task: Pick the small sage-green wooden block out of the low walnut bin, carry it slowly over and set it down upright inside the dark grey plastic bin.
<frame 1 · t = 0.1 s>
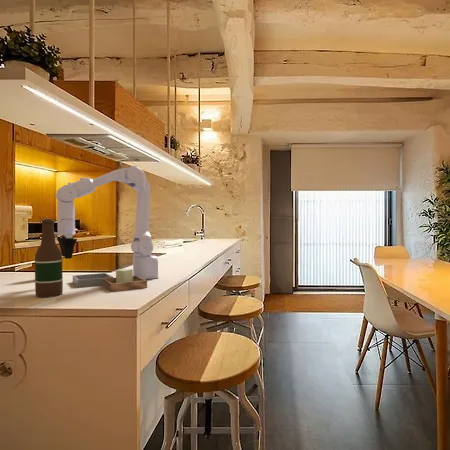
hand: (66, 257, 132), 10 cm above the table, tool pointing down, fingers open, 7 cm apart
beer bottle: (49, 295, 116), on the table
walnut bin: (124, 286, 129), on the table
sage block: (124, 278, 129), in the walnut bin
grey bin: (92, 283, 137), on the table
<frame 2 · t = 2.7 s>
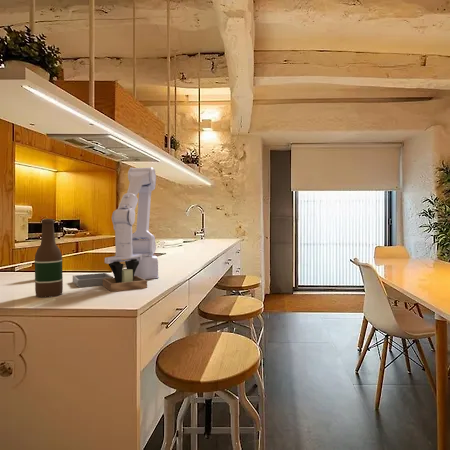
hand: (124, 282, 129), 2 cm above the table, tool pointing down, fingers closed on sage block, 4 cm apart
sage block: (124, 278, 129), in the walnut bin, touching gripper
everything else where it was.
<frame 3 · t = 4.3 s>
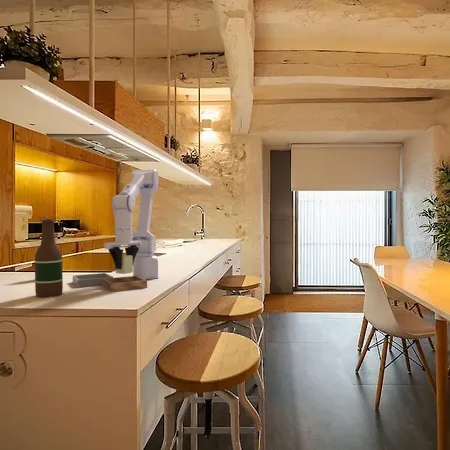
hand: (124, 268, 129), 7 cm above the table, tool pointing down, fingers closed on sage block, 4 cm apart
sage block: (124, 264, 129), point 8 cm above the table, touching gripper
everything else where it was.
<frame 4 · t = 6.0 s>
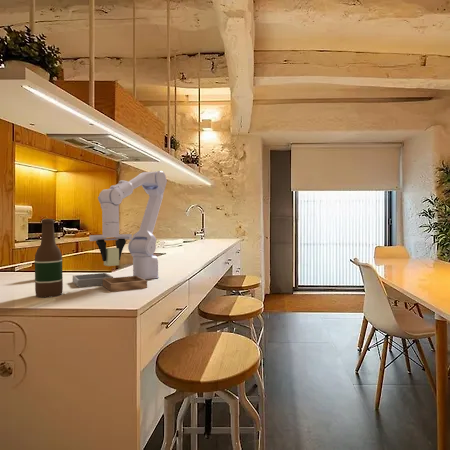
hand: (111, 260, 132), 9 cm above the table, tool pointing down, fingers closed on sage block, 4 cm apart
sage block: (111, 256, 132), point 10 cm above the table, touching gripper
everything else where it was.
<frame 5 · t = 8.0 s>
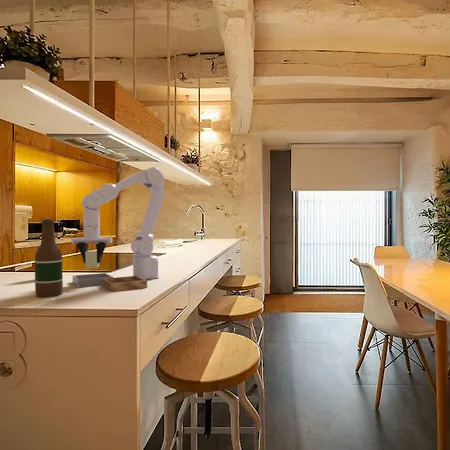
hand: (92, 262, 137), 8 cm above the table, tool pointing down, fingers closed on sage block, 4 cm apart
sage block: (92, 259, 137), point 9 cm above the table, touching gripper
everything else where it was.
when the fingers open (3 cm above the table, at t = 9.4 s): sage block drops 1 cm, resting in grey bin.
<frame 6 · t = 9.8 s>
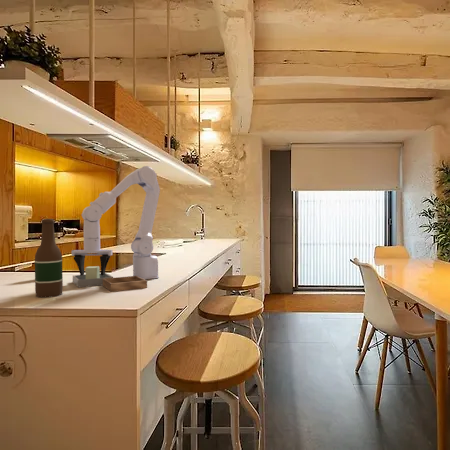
hand: (92, 274, 137), 3 cm above the table, tool pointing down, fingers open, 7 cm apart
sage block: (92, 275, 137), in the grey bin
everything else where it was.
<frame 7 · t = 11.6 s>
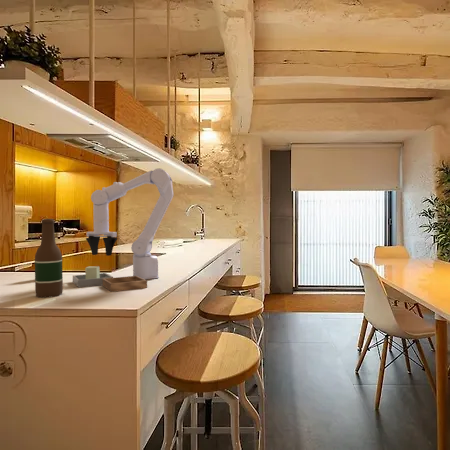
hand: (101, 255, 147), 9 cm above the table, tool pointing down, fingers open, 7 cm apart
nothing on the table moved.
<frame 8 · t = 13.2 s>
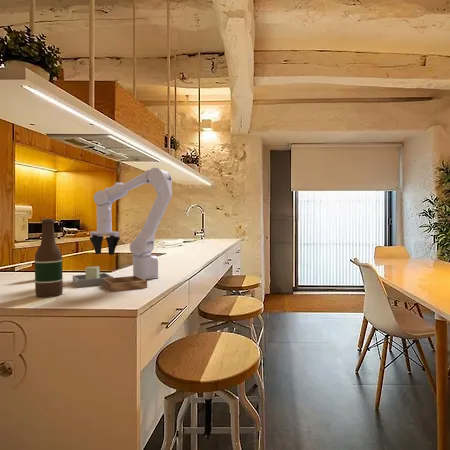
hand: (104, 254, 150), 9 cm above the table, tool pointing down, fingers open, 7 cm apart
nothing on the table moved.
at the end: sage block inside the target area on the grey bin (0.0 cm from its centre), point 2.9 cm above the grey bin's base; sage block tilted 0°; the gripper is holding nothing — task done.
